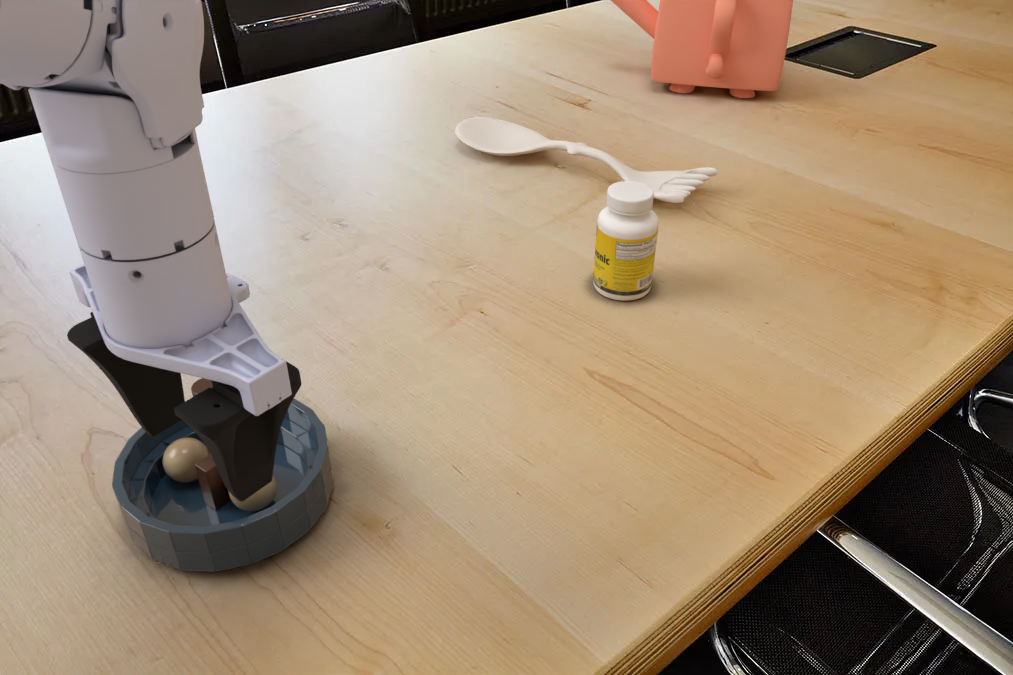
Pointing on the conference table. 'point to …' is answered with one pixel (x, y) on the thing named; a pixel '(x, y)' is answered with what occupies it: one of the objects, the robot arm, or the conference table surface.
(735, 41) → the teapot
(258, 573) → the conference table surface
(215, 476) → the stir paddle
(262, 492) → the bead near
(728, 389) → the conference table surface
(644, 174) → the spoon
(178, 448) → the bead far
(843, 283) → the conference table surface
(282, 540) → the bowl
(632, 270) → the supplement bottle
